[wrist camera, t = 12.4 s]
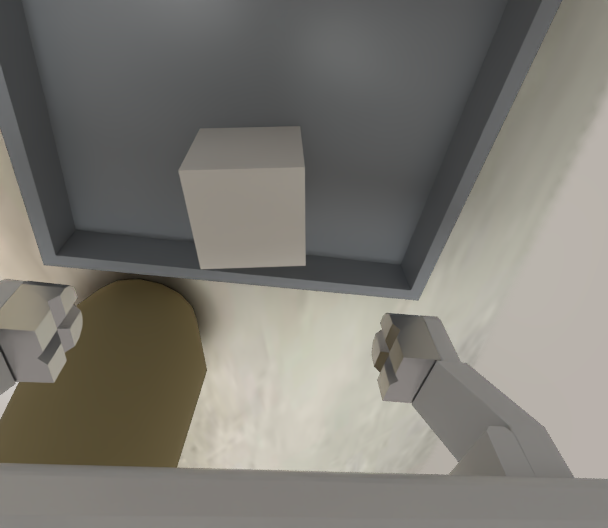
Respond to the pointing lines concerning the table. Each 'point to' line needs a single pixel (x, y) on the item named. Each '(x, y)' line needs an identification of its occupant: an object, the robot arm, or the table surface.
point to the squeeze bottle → (114, 386)
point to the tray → (260, 123)
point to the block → (246, 196)
